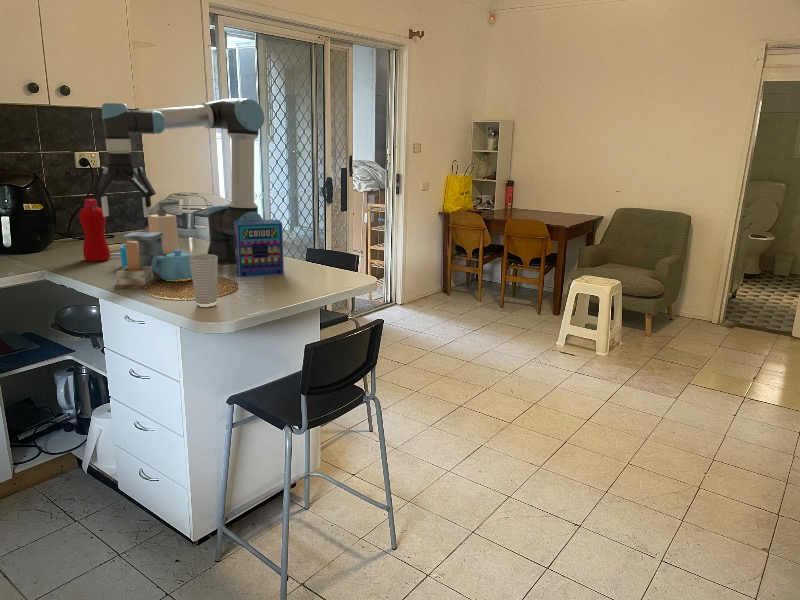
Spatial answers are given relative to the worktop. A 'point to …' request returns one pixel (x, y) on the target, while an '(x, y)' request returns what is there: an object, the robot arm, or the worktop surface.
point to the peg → (133, 256)
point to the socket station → (142, 261)
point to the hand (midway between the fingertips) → (126, 216)
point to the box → (258, 248)
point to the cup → (204, 277)
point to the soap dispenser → (165, 227)
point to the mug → (123, 256)
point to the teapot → (173, 266)
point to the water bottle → (94, 232)
